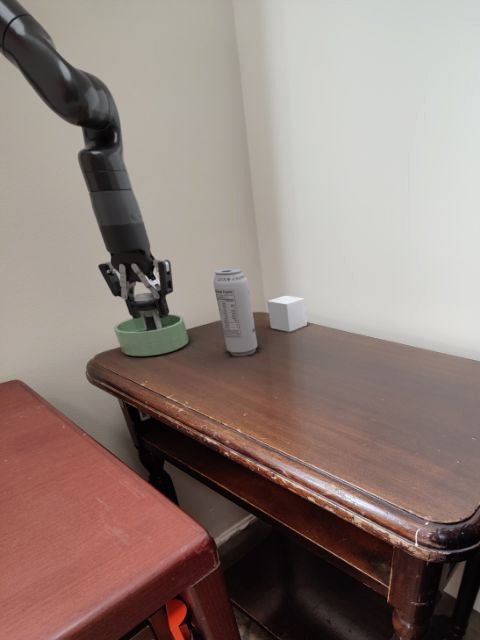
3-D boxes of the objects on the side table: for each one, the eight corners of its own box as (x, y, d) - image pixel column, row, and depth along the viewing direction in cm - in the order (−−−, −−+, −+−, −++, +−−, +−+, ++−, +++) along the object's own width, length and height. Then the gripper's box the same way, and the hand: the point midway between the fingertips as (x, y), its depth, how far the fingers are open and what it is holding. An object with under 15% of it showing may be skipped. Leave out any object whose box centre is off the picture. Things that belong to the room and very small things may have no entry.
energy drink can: (264, 351, 78) (252, 269, 70) (237, 359, 75) (221, 275, 66) (248, 344, 82) (234, 266, 74) (222, 352, 79) (205, 271, 70)
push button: (134, 348, 82) (117, 297, 76) (150, 339, 86) (135, 291, 80) (161, 349, 80) (146, 298, 74) (177, 341, 84) (163, 292, 79)
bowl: (108, 357, 79) (99, 332, 76) (145, 336, 89) (138, 313, 87) (169, 358, 77) (162, 333, 74) (199, 336, 87) (194, 314, 85)
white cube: (289, 332, 88) (286, 304, 85) (270, 327, 91) (267, 301, 88) (307, 325, 92) (305, 298, 89) (288, 321, 95) (285, 295, 92)
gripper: (168, 217, 72) (192, 312, 81) (98, 221, 74) (129, 312, 84) (145, 221, 66) (174, 322, 75) (70, 225, 68) (107, 323, 78)
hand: (150, 317), depth 80 cm, fingers closed on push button, 5 cm apart
